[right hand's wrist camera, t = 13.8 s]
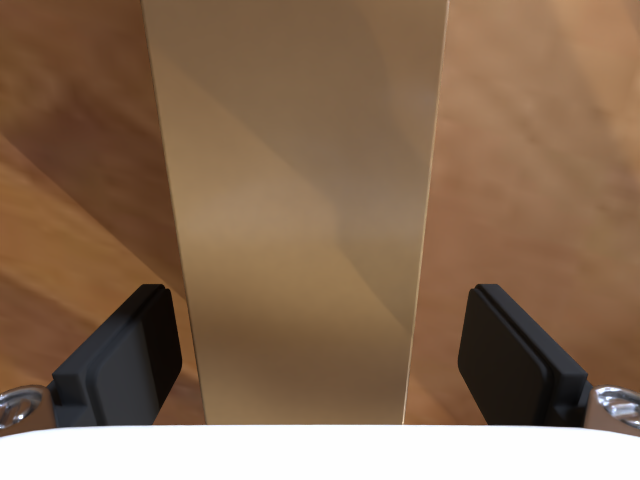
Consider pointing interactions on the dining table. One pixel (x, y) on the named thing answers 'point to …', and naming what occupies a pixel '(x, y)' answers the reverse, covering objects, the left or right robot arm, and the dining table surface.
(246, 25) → the beam
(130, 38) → the dining table surface
